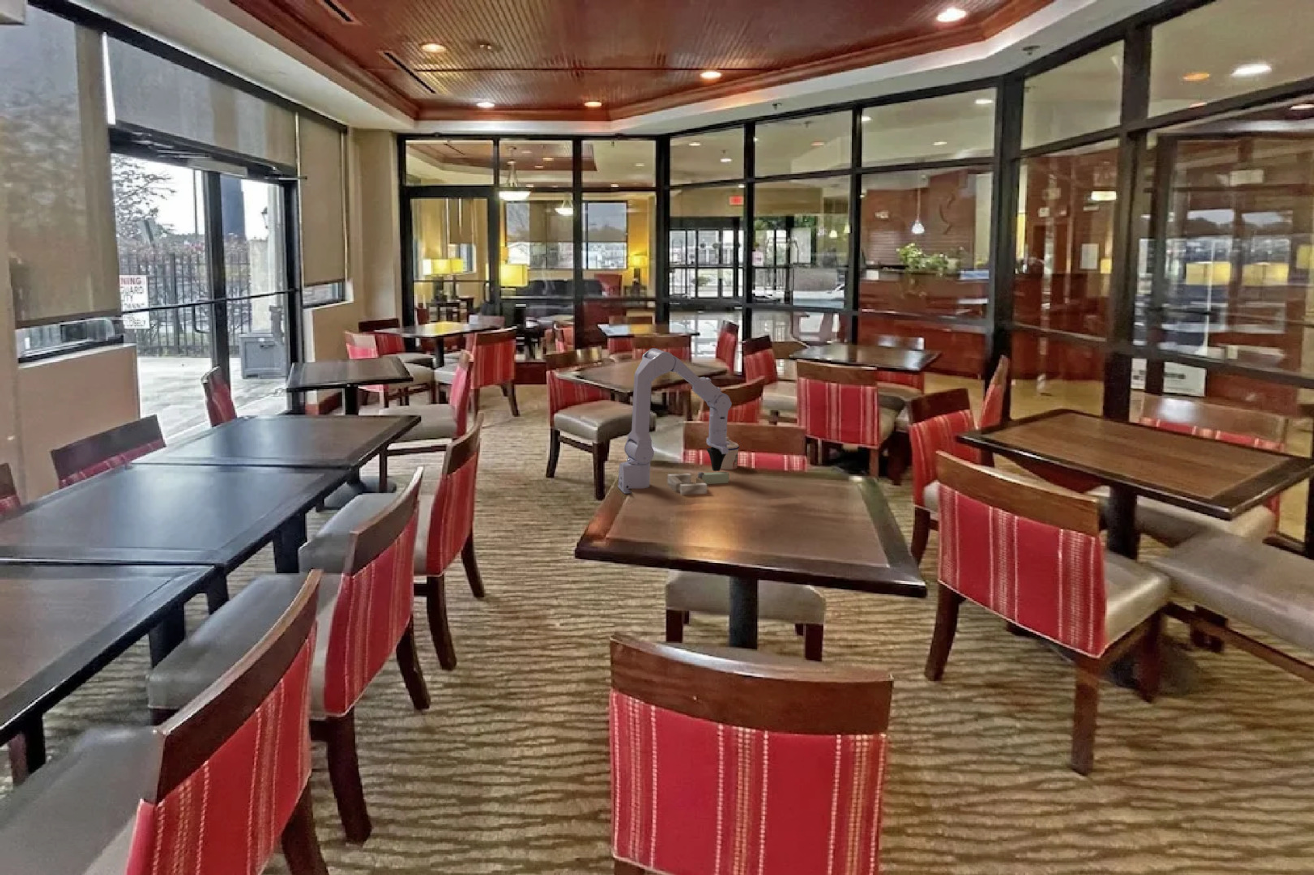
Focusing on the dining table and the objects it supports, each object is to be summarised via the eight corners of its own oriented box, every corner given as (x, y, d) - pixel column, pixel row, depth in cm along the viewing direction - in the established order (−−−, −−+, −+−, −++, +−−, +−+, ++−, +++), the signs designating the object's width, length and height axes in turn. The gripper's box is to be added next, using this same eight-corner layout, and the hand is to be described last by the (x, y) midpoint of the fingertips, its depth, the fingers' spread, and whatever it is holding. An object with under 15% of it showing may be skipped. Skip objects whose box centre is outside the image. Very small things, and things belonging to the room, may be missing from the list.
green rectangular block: (728, 482, 285) (729, 472, 285) (699, 484, 282) (699, 474, 282) (725, 480, 288) (726, 470, 287) (696, 482, 285) (697, 472, 284)
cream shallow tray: (678, 499, 271) (679, 486, 270) (664, 487, 284) (664, 474, 283) (722, 497, 275) (722, 483, 274) (706, 484, 288) (706, 472, 287)
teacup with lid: (738, 474, 302) (740, 440, 299) (711, 473, 302) (713, 439, 299) (736, 465, 313) (738, 432, 311) (710, 464, 313) (711, 431, 311)
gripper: (738, 433, 281) (736, 475, 284) (721, 424, 295) (719, 464, 298) (717, 434, 279) (715, 476, 282) (701, 424, 293) (699, 465, 296)
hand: (716, 470), depth 290 cm, fingers closed
